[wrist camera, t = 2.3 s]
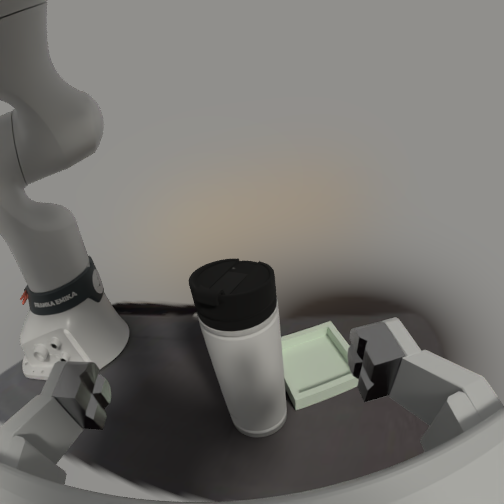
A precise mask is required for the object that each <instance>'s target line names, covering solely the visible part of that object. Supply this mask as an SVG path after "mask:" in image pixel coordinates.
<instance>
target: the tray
mask: <svg viewBox="0 0 504 504" xmlns="http://www.w3.org/2000/svg"><path fill="white" fill-rule="evenodd" d="M281 344H282V356H283V368H284V381H285V389H286V391H287V393H288V395H289V397H290V399H291V402H292V404H293V406H294V408H295V410H298V409H301V408H304V407H307V406H309V405H312V404H315V403H318V402H320V401H323V400H325V399H328V398H330V397H333V396H335V395H338V394H340V393H343V392H345V391H347V390H350V389H352V388H354V387H357V386H358V381H359V379H357V378H355V377H354V376H353V375H352V373H351V371H350V367H349V364H348V348H349V347H350V346H349V345H348V343H347V342H346V341H345V339H344V338H343V337H342V336H341V334H340V333H339V332H338V330H337V329H336V328H335V326H334V325H333V324H332V322H331V321H330V322H327V323H324V324H321V325H318V326H315V327H312V328H309V329H305V330H302V331H299V332H296V333H293V334H290V335H286V336H283V337H281Z"/></svg>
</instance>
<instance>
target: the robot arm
mask: <svg viewBox="0 0 504 504" xmlns="http://www.w3.org/2000/svg"><path fill="white" fill-rule="evenodd" d="M45 1H47V0H0V100H1V101H4V102H7V103H9V104H10V105H11V106H13V107H14V108H15V109H14V110H13V111H11V112H8V113H6V114H4V115H2V116H0V235H1V236H2V237H3V238H4V240H5V241H6V243H7V245H8V246H9V248H10V250H11V252H12V254H13V256H14V258H15V260H16V262H17V264H18V266H19V268H20V270H21V272H22V274H23V276H24V278H25V280H26V283H27V286H26V288H25V289H24V291H25V292H24V293H23V295H22V297H21V298H20V300H22V298H23V297H24V299H23V302H22V304H23V305H24V303H25V302H26V300H27V299H28V300H29V306H30V310H29V312H28V314H27V317H26V319H25V322H24V324H23V327H22V330H21V334H20V344H21V347H22V350H23V352H24V354H25V355H24V359H23V372H24V374H25V376H26V377H27V378H33V379H41V380H47V381H46V383H45V385H44V388H43V390H42V392H41V394H40V395H37V396H36V397H34V398H33V399H32V400H31V401H30V402H29V403H27V404H26V405H25V406H24V407H23V408H22V409H20V410H19V411H18V412H17V413H16V414H15V415H14V416H12V417H11V418H10V419H9V420H8V421H7V422H6V423H4V424H3V425H2V426H1V427H0V504H504V406H503V404H502V403H501V401H500V400H499V398H498V397H497V395H496V394H495V392H494V391H493V389H492V388H491V386H490V385H489V383H488V382H487V381H486V379H485V378H484V377H483V376H481V375H479V374H476V373H474V372H472V371H470V370H468V369H465V368H463V367H461V366H459V365H457V364H455V363H452V362H450V361H448V360H446V359H444V358H442V357H440V356H438V355H435V354H433V353H431V352H429V351H427V350H423V351H421V350H420V348H419V347H418V345H417V344H416V342H415V341H414V340H413V338H412V337H411V335H410V334H409V333H408V331H407V330H406V328H405V327H404V326H403V324H402V323H401V322H400V320H399V319H398V318H396V317H395V318H391V319H388V320H384V321H381V322H376V323H373V324H369V325H365V326H361V327H357V328H353V329H352V330H351V332H350V340H351V342H352V345H351V346H350V347H349V348H348V364H349V367H350V371H351V373H352V375H353V376H354V377H355V378H357V379H359V381H358V386H357V387H358V389H359V392H360V394H361V396H362V398H363V401H364V402H368V401H372V400H375V399H379V398H382V397H385V396H388V395H389V397H390V398H391V399H393V400H394V401H396V402H397V403H398V404H400V405H401V406H403V407H404V408H405V409H407V410H408V411H410V412H411V413H413V414H414V415H415V416H417V417H418V418H420V419H421V420H422V421H424V422H425V423H427V424H428V425H430V426H429V428H428V429H427V431H426V432H425V433H424V435H423V436H422V438H421V440H420V442H421V444H422V446H423V448H424V451H425V453H422V454H420V455H418V456H416V457H413V458H411V459H409V460H406V461H404V462H401V463H399V464H396V465H394V466H391V467H389V468H386V469H383V470H380V471H378V472H375V473H372V474H369V475H366V476H363V477H360V478H356V479H353V480H350V481H346V482H343V483H339V484H335V485H331V486H327V487H323V488H319V489H314V490H310V491H305V492H300V493H294V494H289V495H283V496H276V497H269V498H261V499H252V500H241V501H226V502H169V501H154V500H144V499H135V498H127V497H119V496H113V495H108V494H102V493H97V492H92V491H88V490H83V489H79V488H75V487H71V486H67V485H64V484H65V479H66V473H65V471H64V470H62V469H61V468H60V467H58V466H57V465H56V464H57V462H58V461H59V460H60V459H61V457H62V456H63V455H64V454H65V452H66V451H67V450H68V449H69V447H70V446H71V445H72V444H73V442H74V441H75V440H76V439H77V437H78V436H79V435H80V434H81V432H82V431H83V429H94V430H103V429H104V424H105V420H106V416H107V414H106V411H105V408H106V407H107V406H108V405H109V404H110V400H111V388H110V386H109V383H108V381H107V380H106V378H104V377H103V376H101V375H100V374H99V370H100V369H101V368H102V367H104V366H105V365H107V364H108V363H110V362H111V361H112V360H114V359H115V358H116V357H117V356H118V355H119V354H120V353H121V351H122V350H123V349H124V347H125V345H126V344H127V341H128V338H129V327H128V325H127V323H126V322H125V321H124V320H123V319H122V318H121V317H120V316H119V315H118V313H117V312H116V311H115V309H114V308H113V306H112V305H111V303H110V302H109V300H108V298H107V297H106V295H105V293H104V288H103V285H102V281H101V279H100V276H99V273H98V271H97V270H96V267H95V265H94V263H93V261H92V259H91V257H90V256H88V254H87V252H86V249H85V246H84V243H83V240H82V237H81V235H80V231H79V228H78V225H77V222H76V219H75V217H74V215H73V214H72V213H71V212H70V210H68V209H67V208H65V207H63V206H61V205H57V204H52V203H40V202H35V201H32V200H31V199H30V198H28V196H27V195H26V193H25V191H24V188H25V187H26V186H27V185H28V184H30V183H33V182H35V181H37V180H40V179H42V178H44V177H47V176H49V175H52V174H55V173H57V172H60V171H62V170H65V169H67V168H69V167H71V166H73V165H74V164H76V163H78V162H79V161H81V160H83V159H85V158H86V157H88V156H90V155H92V154H93V153H95V151H96V150H97V148H98V146H99V144H100V141H101V138H102V134H103V116H102V112H101V110H100V107H99V106H98V104H97V102H96V101H95V100H94V99H93V98H92V97H91V96H89V95H88V94H87V93H85V92H83V91H79V90H77V89H76V88H74V87H72V86H71V85H69V84H68V83H66V82H65V81H64V80H63V79H62V78H61V77H60V75H59V74H58V73H57V71H56V70H55V68H54V66H53V64H52V61H51V58H50V55H49V50H48V42H47V30H46V29H47V28H46V14H47V13H46V12H47V2H45Z"/></svg>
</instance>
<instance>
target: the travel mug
mask: <svg viewBox="0 0 504 504" xmlns="http://www.w3.org/2000/svg"><path fill="white" fill-rule="evenodd" d="M189 286H190V289H191V293H192V296H193V300H194V304H195V306H196V310H197V316H198V320H199V322H200V326H201V330H202V333H203V336H204V339H205V343H206V346H207V349H208V352H209V355H210V358H211V361H212V364H213V367H214V370H215V373H216V376H217V379H218V382H219V385H220V388H221V391H222V393H223V396H224V399H225V402H226V405H227V407H228V410H229V413H230V416H231V418H232V421H233V424H234V425H235V427H236V428H237V429H238V431H240V432H241V433H243V434H245V435H247V436H250V437H265V436H269V435H271V434H273V433H275V432H277V431H278V430H279V429H280V428H281V427H282V426H283V424H284V423H285V421H286V417H287V408H286V394H285V381H284V368H283V356H282V344H281V332H280V321H279V310H278V301H277V296H276V286H275V276H274V270H273V269H272V268H271V267H270V266H269V265H268V264H265V263H263V262H258V263H257V262H252V261H239V259H225V260H219V261H215V262H212V263H209V264H206V265H204V266H202V267H200V268H199V269H197V270H195V272H193V273H192V275H191V276H190V278H189Z"/></svg>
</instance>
